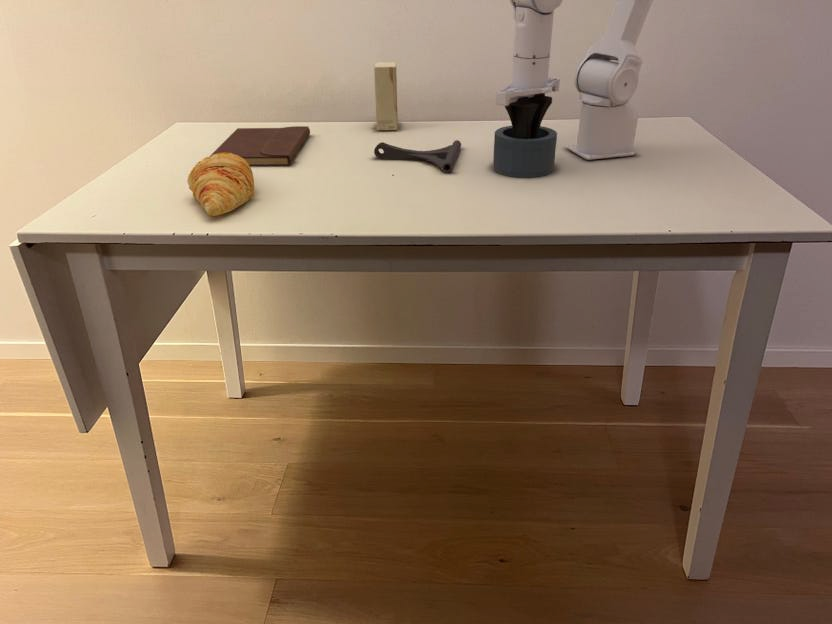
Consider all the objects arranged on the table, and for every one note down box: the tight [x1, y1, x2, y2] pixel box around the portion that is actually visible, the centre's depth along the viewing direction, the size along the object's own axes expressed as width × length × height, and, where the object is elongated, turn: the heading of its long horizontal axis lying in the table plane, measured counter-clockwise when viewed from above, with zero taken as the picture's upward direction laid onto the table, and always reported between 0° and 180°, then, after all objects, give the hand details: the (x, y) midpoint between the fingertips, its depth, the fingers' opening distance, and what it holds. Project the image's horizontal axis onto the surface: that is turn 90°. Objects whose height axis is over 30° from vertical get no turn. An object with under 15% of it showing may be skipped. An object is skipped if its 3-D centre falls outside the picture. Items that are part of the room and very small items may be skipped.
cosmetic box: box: [373, 61, 399, 131], centre depth 141 cm, size 6×4×12 cm
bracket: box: [373, 139, 462, 173], centre depth 125 cm, size 14×15×3 cm
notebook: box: [208, 125, 311, 167], centre depth 132 cm, size 15×20×2 cm
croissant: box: [186, 152, 255, 217], centre depth 109 cm, size 21×10×8 cm, turn 5°
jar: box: [492, 125, 558, 178], centre depth 118 cm, size 10×10×6 cm
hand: (524, 142), depth 117 cm, fingers closed
